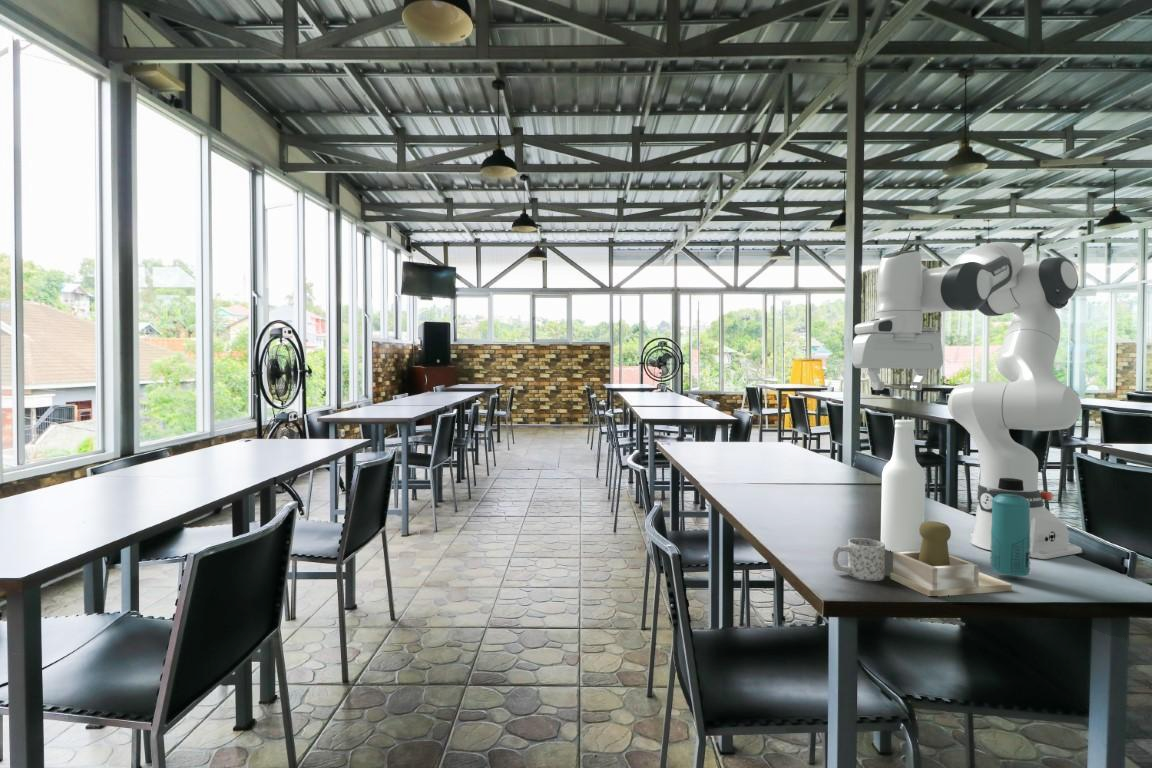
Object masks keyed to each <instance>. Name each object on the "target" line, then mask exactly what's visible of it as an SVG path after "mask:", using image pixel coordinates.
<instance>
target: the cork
mask: <svg viewBox="0 0 1152 768" xmlns="http://www.w3.org/2000/svg"><path fill="white" fill-rule="evenodd" d="M919 532H920V535H921V536H922V544H921V549H920V555H919V561H921V562H923V563H926V564H928V565H931V566H933V567H934V566H949V565H950V560H949V555H950V552H949V546H948V541H949V540H950V539H951V536H952V531H951V528H950V527H949V525H948V524H946V523H944V522H939V521H934V520H932V521H929V520H925V521H924V522H923V523H922V524H921V525H920V528H919Z"/></svg>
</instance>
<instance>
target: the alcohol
mask: <svg viewBox="0 0 1152 768" xmlns="http://www.w3.org/2000/svg"><path fill="white" fill-rule="evenodd" d="M894 424H895V425H894V428H895V429H894V436H893V445H892V453H891V454H892V455H891V458H890V460H889V461H888V462H886V464H885V465H884V466H883V467H882V468H883V469H882V473H881V497H880V498H881V504H880V505H881V506H880V507H881V508H880V542H882V543H884V544H885V551H888V552H890V551H891V553H893V552H909V551H920V549H921V544H922V536H921V535H920V532H919V528H920V525H921V524H922V523H923V522H925V516H926V515H925V513H926V512H925V511H926V510H925V506H926V505H925V504H926V474H925V470H924V468H923V466H921V464H920V463H919V462H918V461H917V457H916V445H915V433H914V431H915V430H914V429H915V425H914V424H915V421H914V420H913V419H912V420H911V419H895V420H894Z"/></svg>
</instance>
